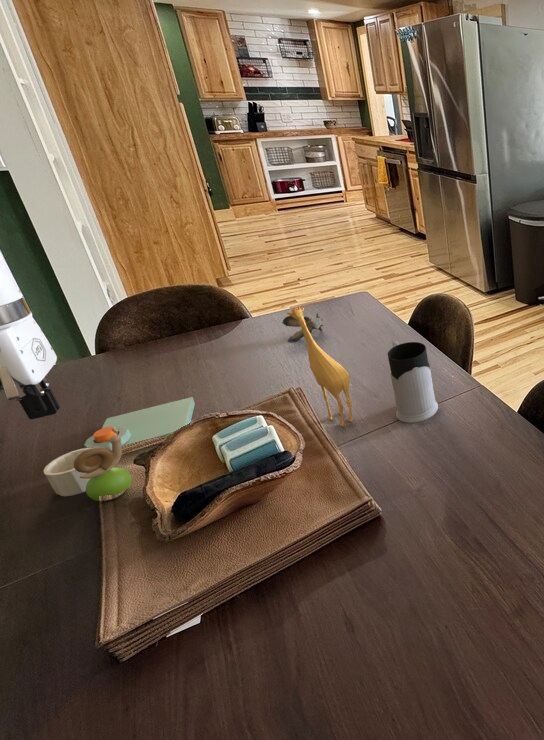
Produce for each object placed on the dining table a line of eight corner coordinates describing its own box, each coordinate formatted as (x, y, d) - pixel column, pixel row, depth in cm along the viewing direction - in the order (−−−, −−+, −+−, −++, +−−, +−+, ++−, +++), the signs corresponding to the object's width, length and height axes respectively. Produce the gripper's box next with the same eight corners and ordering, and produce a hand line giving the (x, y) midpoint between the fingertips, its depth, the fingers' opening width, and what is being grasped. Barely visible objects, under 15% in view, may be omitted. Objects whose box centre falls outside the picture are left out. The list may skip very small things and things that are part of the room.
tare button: (94, 445, 89) (90, 438, 88) (98, 436, 91) (95, 429, 90) (115, 439, 90) (112, 433, 90) (119, 430, 92) (116, 424, 92)
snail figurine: (149, 488, 83) (122, 433, 79) (100, 513, 78) (68, 457, 73) (136, 476, 86) (110, 422, 81) (88, 500, 81) (57, 444, 76)
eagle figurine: (315, 321, 141) (280, 326, 134) (319, 306, 137) (283, 310, 130) (323, 341, 138) (287, 347, 131) (327, 326, 134) (291, 332, 127)
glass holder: (404, 428, 98) (392, 366, 92) (383, 396, 108) (371, 339, 103) (444, 411, 103) (435, 352, 98) (420, 383, 113) (411, 327, 108)
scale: (88, 466, 88) (80, 451, 87) (107, 426, 98) (100, 412, 97) (187, 437, 95) (181, 423, 94) (195, 403, 106) (189, 390, 104)
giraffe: (305, 408, 104) (275, 305, 95) (325, 398, 108) (298, 298, 98) (346, 435, 96) (318, 326, 86) (366, 424, 99) (341, 317, 90)
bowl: (50, 503, 80) (37, 480, 78) (63, 478, 85) (51, 456, 83) (103, 486, 83) (92, 465, 81) (113, 464, 89) (102, 442, 87)
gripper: (6, 327, 68) (62, 431, 75) (44, 292, 79) (89, 385, 86) (-76, 341, 64) (-9, 448, 71) (-23, 302, 75) (30, 398, 82)
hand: (45, 413), depth 79 cm, fingers closed
